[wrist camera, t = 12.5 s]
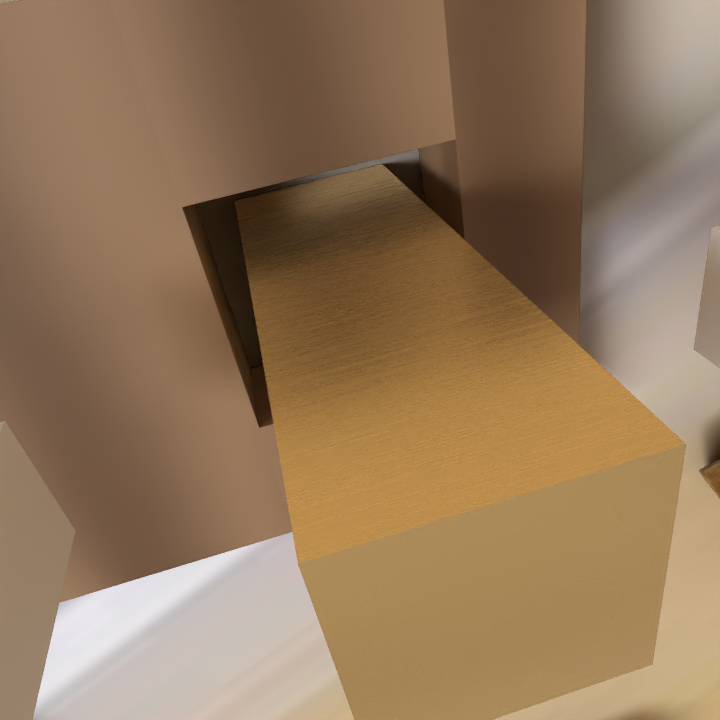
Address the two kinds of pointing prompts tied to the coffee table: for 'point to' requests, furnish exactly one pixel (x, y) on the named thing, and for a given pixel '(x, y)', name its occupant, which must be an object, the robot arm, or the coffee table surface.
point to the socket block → (227, 177)
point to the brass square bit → (450, 462)
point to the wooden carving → (712, 476)
